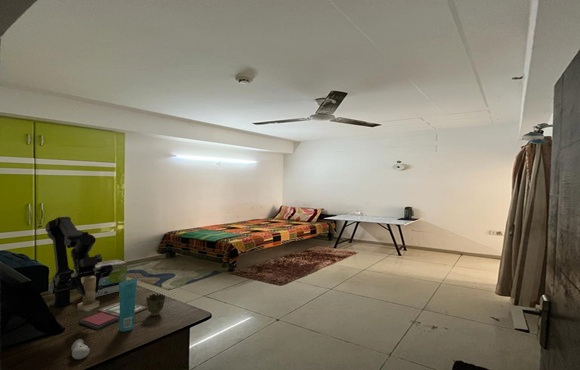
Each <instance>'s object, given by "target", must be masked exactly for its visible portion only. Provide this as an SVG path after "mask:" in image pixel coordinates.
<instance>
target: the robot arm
mask: <svg viewBox="0 0 580 370" xmlns="http://www.w3.org/2000/svg"><path fill="white" fill-rule="evenodd" d="M44 227H45V228H44V229H45V232H47V236H48V238H49V239H50V240H52V245H53V256H54V263H55V272H54V275H53V276H52V279H51V282H50V285H49V286H48V291H49V293H50V294H51V295H53V302H52V303H50V304H49V306H51V307H53V308H57V309H60V308H63V307H65V306H69V305H72V304H74V301H72V300H71V291H75V290H76V291H77V292H79V294H81V295H82V297H83V296H85V291H84V288H83V282H82V278H85V277H88V276H95V277H96V289H95V292H96V293H97V292H98V287H99V280H100V279H101V278H103V277H108V276H110V274H111V273H112V271H113V266H112V265H111V264H109V265H103V266H101V267H100V269H99V270H93V269H94V268H95V265H97V264H98V263H100V262H103V257H102V254H101V253H99V254H95V255H93V256H90V251H92V249H93V247H94V244H95V243H96V240H97V239H96V237H95V236H94V235H93V234H90V233H89V232H88V231H83V230H79V229H78V228H77V226H76V225H74V223H73V222H72V218H71V217H70V216H59V217H56V218H54V219H52V220H49V221H48V222H46V224H45V226H44ZM67 249H71V251H70V258H71V259H72V262H73V263H72V264H73V266H72V267H73V268H72V269H71V268H70V267H69V266H70V265H69V259H68V253H67V251H68V250H67ZM74 270H75V271H74Z"/></svg>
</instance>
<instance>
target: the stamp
mask: <svg viewBox="0 0 580 370" xmlns="http://www.w3.org/2000/svg"><path fill="white" fill-rule="evenodd" d="M82 285H83V288H84V291H85V296H83V295H82V301H81V302H80V303H77V310H76V311H77V312H78V313H84V314H90V313H92V312H94V311H96V310H98V309H100V300H96V297H95V289H96V277H95V276H89V277H83V283H82Z"/></svg>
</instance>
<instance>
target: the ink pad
mask: <svg viewBox="0 0 580 370" xmlns="http://www.w3.org/2000/svg"><path fill="white" fill-rule="evenodd" d="M118 321H119V322H120V318H118V317H115V316H111V315H108V314H105V313H102V312H98V313H96V314H94V315H91V316H88V317H85V318H83V319H80V320H79V321H78V322H79V324H80V325H83V326H86V327H89V328H92V329H95V330H97V331H98V330H100V329H103V328H105V327H107V326H109V325H112V324H115V323H116V322H118Z"/></svg>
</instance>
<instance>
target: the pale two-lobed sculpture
mask: <svg viewBox="0 0 580 370" xmlns="http://www.w3.org/2000/svg"><path fill="white" fill-rule="evenodd" d="M90 351H91V349H90V348H89V347H88V345H87V344H85V342H84V340H83V339H81V338H79V339H76V340H75V341H74V342H73V343H72V345H71V356H72V358H73V359H75V360H83V359H84V358H85V359H86V357H87V356H88V355H89V353H90Z"/></svg>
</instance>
